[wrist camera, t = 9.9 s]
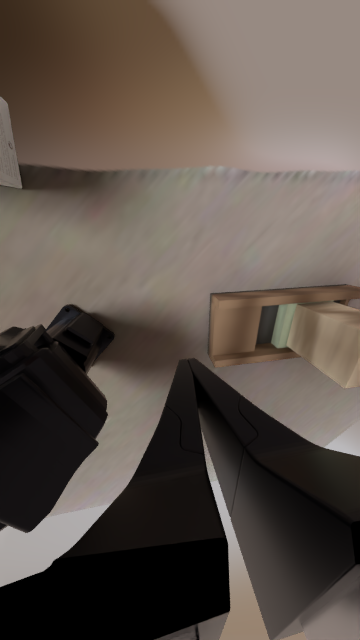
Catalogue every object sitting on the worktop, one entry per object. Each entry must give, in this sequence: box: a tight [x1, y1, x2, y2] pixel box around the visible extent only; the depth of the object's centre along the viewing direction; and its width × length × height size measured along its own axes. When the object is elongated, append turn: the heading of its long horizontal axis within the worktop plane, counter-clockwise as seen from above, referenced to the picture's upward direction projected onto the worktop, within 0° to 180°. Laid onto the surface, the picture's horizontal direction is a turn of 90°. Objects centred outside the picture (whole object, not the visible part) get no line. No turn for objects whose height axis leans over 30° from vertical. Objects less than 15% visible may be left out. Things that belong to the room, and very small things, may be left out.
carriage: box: [286, 301, 360, 389], centre depth 19 cm, size 5×6×8 cm
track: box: [208, 284, 360, 367], centre depth 23 cm, size 20×9×3 cm, turn 91°
